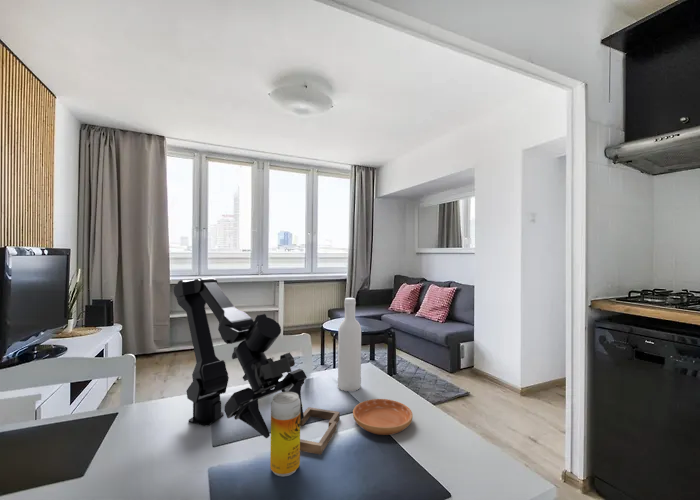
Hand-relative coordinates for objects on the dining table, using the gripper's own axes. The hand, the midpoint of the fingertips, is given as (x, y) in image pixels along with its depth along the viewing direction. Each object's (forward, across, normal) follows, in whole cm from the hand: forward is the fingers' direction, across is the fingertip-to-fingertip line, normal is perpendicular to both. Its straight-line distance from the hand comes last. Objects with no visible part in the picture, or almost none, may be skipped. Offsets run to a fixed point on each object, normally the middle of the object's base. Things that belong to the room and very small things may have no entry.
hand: (286, 427), depth 69 cm
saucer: (+10, +29, +3) cm, 31 cm away
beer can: (+6, 0, +6) cm, 9 cm away
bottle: (-5, +41, +17) cm, 45 cm away
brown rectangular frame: (+2, +14, +10) cm, 17 cm away
